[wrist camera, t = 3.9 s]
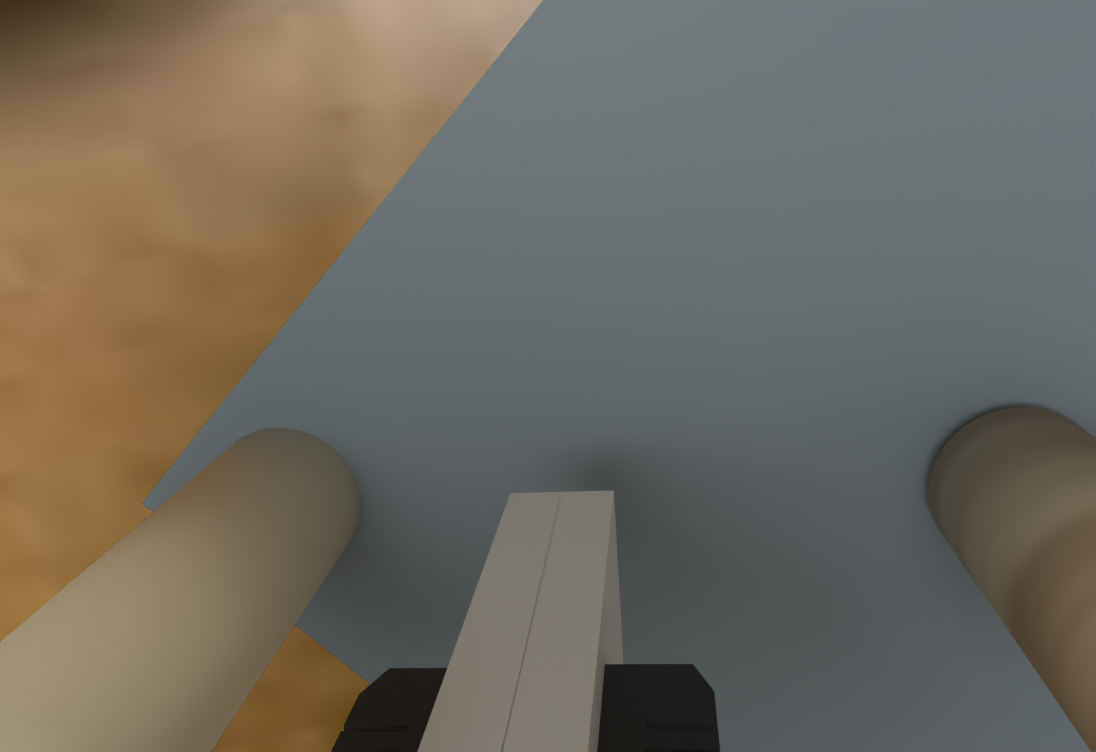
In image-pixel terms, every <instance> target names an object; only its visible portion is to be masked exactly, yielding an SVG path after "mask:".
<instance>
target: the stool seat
mask: <svg viewBox="0 0 1096 752" xmlns="http://www.w3.org/2000/svg"><path fill="white" fill-rule="evenodd" d="M1015 407H1034V408H1041V409H1046V410H1050V411H1053V412H1056V413H1058V414H1061V415H1063V416H1065V417H1067V418H1069V419H1070V420H1072V421H1074V422H1075V423H1077V424H1078V425H1079V426H1081V427H1082V428H1083V429H1085V430H1086V431H1087V432H1089V433H1090V434H1091V435H1092V436H1094V437H1095V438H1096V0H543V2H542V3H541V4H540V5H539V7H538V8H537V9H536V10H535V12H534V13H533V14H532V15H531V17H530V18H529V19H528V20H527V22H526V23H525V24H524V25H523V27H522V28H521V29H520V30H519V32H518V33H517V34H516V35H515V37H514V38H513V39H512V41H511V42H510V43H509V44H508V46H507V47H506V48H505V49H504V51H503V52H502V53H501V54H500V56H499V57H498V58H497V59H496V61H495V62H494V63H493V64H492V66H491V67H490V68H489V69H488V71H487V72H486V73H485V74H484V76H483V77H482V78H481V79H480V81H479V82H478V83H477V84H476V86H475V87H474V88H473V89H472V91H471V92H470V93H469V94H468V96H467V97H466V98H465V99H464V101H463V102H462V103H461V104H460V106H459V107H458V108H457V109H456V111H455V112H454V113H453V114H452V116H451V117H450V118H449V119H448V121H447V122H446V123H445V124H444V126H443V127H442V128H441V129H440V131H439V132H438V133H437V134H436V136H435V137H434V138H433V139H432V141H431V142H430V143H429V144H428V146H427V147H426V148H425V149H424V151H423V152H422V153H421V154H420V156H419V157H418V158H417V159H416V161H415V162H414V163H413V164H412V166H411V167H410V168H409V169H408V171H407V172H406V173H405V174H404V176H403V177H402V178H401V179H400V181H399V182H398V183H397V184H396V186H395V187H394V188H393V190H392V191H391V192H390V193H389V195H388V196H387V197H386V198H385V200H384V201H383V202H382V203H381V205H380V206H379V207H378V208H377V210H376V211H375V212H374V213H373V215H372V216H371V217H370V218H369V220H368V221H367V222H366V223H365V225H364V226H363V227H362V228H361V230H360V231H359V232H358V233H357V235H356V236H355V237H354V238H353V240H352V241H351V242H350V243H349V245H348V246H347V247H346V248H345V250H344V251H343V252H342V253H341V255H340V256H339V257H338V258H337V260H336V261H335V262H334V263H333V265H332V266H331V267H330V268H329V270H328V271H327V272H326V273H325V275H324V276H323V277H322V278H321V280H320V281H319V282H318V283H317V285H316V286H315V287H314V288H313V290H312V291H311V292H310V293H309V295H308V296H307V297H306V298H305V300H304V301H303V302H302V303H301V305H300V306H299V307H298V308H297V310H296V311H295V312H294V313H293V315H292V316H291V317H290V318H289V320H288V321H287V322H286V323H285V325H284V326H283V327H282V328H281V330H280V331H279V332H278V333H277V335H276V336H275V337H274V338H273V340H272V341H271V342H270V344H269V345H268V346H267V347H266V349H265V350H264V351H263V352H262V354H261V355H260V356H259V357H258V359H257V360H256V361H255V362H254V364H253V365H252V366H251V367H250V369H249V370H248V371H247V372H246V374H245V375H244V376H243V377H242V379H241V380H240V381H239V382H238V384H237V385H236V386H235V387H234V389H233V390H232V391H231V392H230V394H229V395H228V396H227V397H226V399H225V400H224V401H223V402H222V404H221V405H220V406H219V407H218V409H217V410H216V411H215V412H214V414H213V415H212V416H211V417H210V419H209V420H208V421H207V422H206V424H205V425H204V426H203V427H202V429H201V430H200V431H199V432H198V434H197V435H196V436H195V437H194V439H193V440H192V441H191V442H190V444H189V445H188V446H187V447H186V449H185V450H184V451H183V452H182V454H181V455H180V456H179V457H178V459H177V460H176V461H175V462H174V464H173V465H172V466H171V467H170V469H169V470H168V471H167V472H166V474H165V475H164V476H163V477H162V479H161V480H160V481H159V482H158V484H157V485H156V486H155V487H154V489H153V490H152V491H151V492H150V494H149V495H148V496H147V498H146V499H145V500H144V501H143V503H142V504H143V505H144V506H146V507H147V508H148V509H149V510H151V511H152V513H151V514H150V515H149V516H148V517H147V518H145V519H144V520H143V521H142V522H141V523H139V524H138V525H137V526H136V527H135V528H134V529H132V530H131V531H130V532H129V533H128V534H127V535H125V536H124V537H123V538H122V539H121V540H119V541H118V542H117V543H116V544H115V545H114V546H112V547H111V548H110V549H109V550H108V551H107V552H105V553H104V554H103V555H102V556H101V557H99V558H98V559H97V560H96V561H95V562H94V563H92V564H91V565H90V566H89V567H88V568H86V569H85V570H84V571H83V572H82V573H81V574H79V575H78V576H77V577H76V578H75V579H74V580H72V581H71V582H70V583H69V584H68V585H66V586H65V587H64V588H63V589H62V590H61V591H59V592H58V593H57V594H56V595H55V596H54V597H52V598H51V599H50V600H49V601H48V602H46V603H45V604H44V605H43V606H42V607H41V608H39V609H38V610H37V611H36V612H35V613H33V614H32V615H31V616H30V617H29V618H28V619H26V620H25V621H24V622H23V623H22V624H21V625H19V626H18V627H17V628H16V629H15V630H13V631H12V632H11V633H10V634H9V635H8V636H6V637H5V638H4V639H3V640H2V641H1V642H0V752H211V751H212V750H213V748H214V747H215V745H216V744H217V742H218V741H219V739H220V738H221V736H222V735H223V733H224V732H225V730H226V729H227V727H228V725H229V724H230V722H231V721H232V719H233V718H234V716H235V715H236V713H237V712H238V710H239V709H240V707H241V706H242V704H243V703H244V701H245V700H246V698H247V697H248V695H249V694H250V692H251V691H252V689H253V688H254V686H255V684H256V683H257V681H258V680H259V678H260V677H261V675H262V674H263V672H264V671H265V669H266V668H267V666H268V665H269V663H270V662H271V660H272V659H273V657H274V656H275V654H276V653H277V651H278V650H279V648H280V647H281V645H282V643H283V642H284V640H285V639H286V637H287V636H288V634H289V633H290V631H291V630H292V628H293V627H294V625H296V626H297V627H299V628H300V629H301V630H302V631H304V632H305V633H306V634H307V635H309V636H310V637H311V638H313V639H314V640H315V641H316V642H318V643H319V644H320V645H321V646H323V647H324V648H325V649H326V650H328V651H329V652H330V653H332V654H333V655H334V656H335V657H337V658H338V659H339V660H340V661H342V662H343V663H344V664H345V665H347V666H348V667H349V668H350V669H352V670H353V671H354V672H356V673H357V674H358V675H359V676H361V677H362V678H363V679H364V680H366V681H367V682H368V683H369V684H372V683H373V682H374V681H375V680H376V679H377V678H379V677H380V676H381V675H382V674H383V673H384V672H385V671H387V670H388V669H389V668H448V665H449V663H450V660H451V657H452V654H453V651H454V649H455V646H456V643H457V640H458V637H459V635H460V632H461V629H462V626H463V624H464V621H465V618H466V615H467V612H468V610H469V607H470V604H471V601H472V599H473V596H474V593H475V590H476V587H477V585H478V582H479V579H480V576H481V573H482V571H483V568H484V565H485V562H486V560H487V557H488V554H489V551H490V548H491V546H492V543H493V540H494V537H495V535H496V532H497V529H498V526H499V523H500V521H501V518H502V515H503V512H504V509H505V507H506V504H507V501H508V498H509V496H510V493H534V492H573V491H612V490H614V502H615V520H616V537H617V555H618V573H619V590H620V608H621V625H622V643H623V664H693V665H694V666H695V667H696V669H697V670H698V671H699V672H700V674H701V675H702V676H703V677H704V679H705V680H706V681H707V683H708V684H709V685H710V686H711V688H712V689H713V690H714V694H715V704H716V714H717V724H718V733H719V743H720V752H1091V751H1090V749H1089V748H1088V746H1087V745H1086V743H1085V742H1084V740H1083V739H1082V738H1081V736H1080V735H1079V733H1078V732H1077V730H1076V729H1075V727H1074V726H1073V724H1072V723H1071V721H1070V720H1069V719H1068V717H1067V716H1066V714H1065V713H1064V711H1063V710H1062V708H1061V707H1060V705H1059V704H1058V702H1057V701H1056V699H1055V698H1054V697H1053V695H1052V694H1051V692H1050V691H1049V689H1048V688H1047V686H1046V685H1045V683H1044V682H1043V680H1042V679H1041V678H1040V676H1039V675H1038V673H1037V672H1036V670H1035V669H1034V667H1033V666H1032V664H1031V663H1030V661H1029V660H1028V659H1027V657H1026V656H1025V654H1024V653H1023V651H1022V650H1021V648H1020V647H1019V645H1018V644H1017V642H1016V641H1015V639H1014V638H1013V637H1012V635H1011V634H1010V632H1009V631H1008V629H1007V628H1006V626H1005V625H1004V623H1003V622H1002V620H1001V619H1000V618H999V616H998V615H997V613H996V612H995V610H994V609H993V607H992V606H991V604H990V603H989V601H988V600H987V599H986V597H985V596H984V594H983V593H982V591H981V590H980V588H979V587H978V585H977V584H976V582H975V581H974V579H973V578H972V577H971V575H970V574H969V572H968V571H967V569H966V568H965V566H964V565H963V563H962V562H961V560H960V559H959V558H958V556H957V555H956V553H955V552H954V550H953V549H952V547H951V546H950V544H949V543H948V541H947V540H946V539H945V537H944V536H943V534H942V533H941V531H940V530H939V528H938V527H937V525H936V523H935V521H934V519H933V516H932V513H931V510H930V506H929V501H928V485H929V478H930V474H931V470H932V467H933V465H934V462H935V460H936V458H937V456H938V455H939V453H940V451H941V450H942V448H943V447H944V446H945V444H946V443H947V442H948V441H949V440H950V439H951V438H952V437H953V435H954V434H955V433H957V432H958V431H959V430H960V429H962V428H963V427H964V426H965V425H967V424H969V423H970V422H972V421H973V420H975V419H977V418H979V417H981V416H983V415H986V414H988V413H991V412H994V411H997V410H1002V409H1007V408H1015Z"/></svg>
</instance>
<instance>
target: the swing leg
mask: <svg viewBox="0 0 1096 752" xmlns="http://www.w3.org/2000/svg"><path fill="white" fill-rule="evenodd" d="M928 501H929V506H930V510H931V513H932V516H933V519H934V521H935V523H936V525H937V527H938V528H939V530H940V531H941V533H942V534H943V536H944V537H945V539H946V540H947V541H948V543H949V544H950V546H951V547H952V549H953V550H954V552H955V553H956V555H957V556H958V558H959V559H960V560H961V562H962V563H963V565H964V566H965V568H966V569H967V571H968V572H969V574H970V575H971V577H972V578H973V579H974V581H975V582H976V584H977V585H978V587H979V588H980V590H981V591H982V593H983V594H984V596H985V597H986V599H987V600H988V601H989V603H990V604H991V606H992V607H993V609H994V610H995V612H996V613H997V615H998V616H999V618H1000V619H1001V620H1002V622H1003V623H1004V625H1005V626H1006V628H1007V629H1008V631H1009V632H1010V634H1011V635H1012V637H1013V638H1014V639H1015V641H1016V642H1017V644H1018V645H1019V647H1020V648H1021V650H1022V651H1023V653H1024V654H1025V656H1026V657H1027V659H1028V660H1029V661H1030V663H1031V664H1032V666H1033V667H1034V669H1035V670H1036V672H1037V673H1038V675H1039V676H1040V678H1041V679H1042V680H1043V682H1044V683H1045V685H1046V686H1047V688H1048V689H1049V691H1050V692H1051V694H1052V695H1053V697H1054V698H1055V699H1056V701H1057V702H1058V704H1059V705H1060V707H1061V708H1062V710H1063V711H1064V713H1065V714H1066V716H1067V717H1068V719H1069V720H1070V721H1071V723H1072V724H1073V726H1074V727H1075V729H1076V730H1077V732H1078V733H1079V735H1080V736H1081V738H1082V739H1083V740H1084V742H1085V743H1086V745H1087V746H1088V748H1089V749H1090V751H1091V752H1096V438H1095V437H1094V436H1092V435H1091V434H1090V433H1089V432H1087V431H1086V430H1085V429H1083V428H1082V427H1081V426H1079V425H1078V424H1077V423H1075V422H1074V421H1072V420H1070V419H1069V418H1067V417H1065V416H1063V415H1061V414H1058V413H1056V412H1053V411H1050V410H1046V409H1041V408H1034V407H1015V408H1007V409H1002V410H997V411H994V412H991V413H988V414H986V415H983V416H981V417H979V418H977V419H975V420H973V421H972V422H970V423H969V424H967V425H965V426H964V427H963V428H962V429H960V430H959V431H958V432H957V433H955V434H954V435H953V437H952V438H951V439H950V440H949V441H948V442H947V443H946V444H945V446H944V447H943V448H942V450H941V451H940V453H939V455H938V456H937V458H936V460H935V462H934V465H933V467H932V470H931V474H930V478H929V485H928Z"/></svg>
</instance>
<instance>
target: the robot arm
mask: <svg viewBox="0 0 1096 752" xmlns="http://www.w3.org/2000/svg"><path fill="white" fill-rule="evenodd" d="M332 752H720V743H719V733H718V724H717V714H716V704H715V694H714V690H713V689H712V688H711V686H710V685H709V684H708V683H707V681H706V680H705V679H704V677H703V676H702V675H701V674H700V672H699V671H698V670H697V669H696V667H695V666H694V665H693V664H623V643H622V625H621V608H620V590H619V573H618V555H617V537H616V520H615V502H614V490H612V491H573V492H534V493H510V496H509V498H508V501H507V504H506V507H505V509H504V512H503V515H502V518H501V521H500V523H499V526H498V529H497V532H496V535H495V537H494V540H493V543H492V546H491V548H490V551H489V554H488V557H487V560H486V562H485V565H484V568H483V571H482V573H481V576H480V579H479V582H478V585H477V587H476V590H475V593H474V596H473V599H472V601H471V604H470V607H469V610H468V612H467V615H466V618H465V621H464V624H463V626H462V629H461V632H460V635H459V637H458V640H457V643H456V646H455V649H454V651H453V654H452V657H451V660H450V663H449V665H448V668H389V669H388V670H387V671H385V672H384V673H383V674H382V675H381V676H380V677H379V678H377V679H376V680H375V681H374V682H373V683H372V684H371V685H369V686H368V687H367V688H366V689H365V690H364V691H363V692H361V693H360V694H359V696H358V698H357V700H356V702H355V704H354V706H353V708H352V710H351V712H350V714H349V716H348V718H347V720H346V722H345V724H344V731H341V732H340V735H339V737H338V739H337V741H336V743H335V745H334V747H333V749H332Z"/></svg>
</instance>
